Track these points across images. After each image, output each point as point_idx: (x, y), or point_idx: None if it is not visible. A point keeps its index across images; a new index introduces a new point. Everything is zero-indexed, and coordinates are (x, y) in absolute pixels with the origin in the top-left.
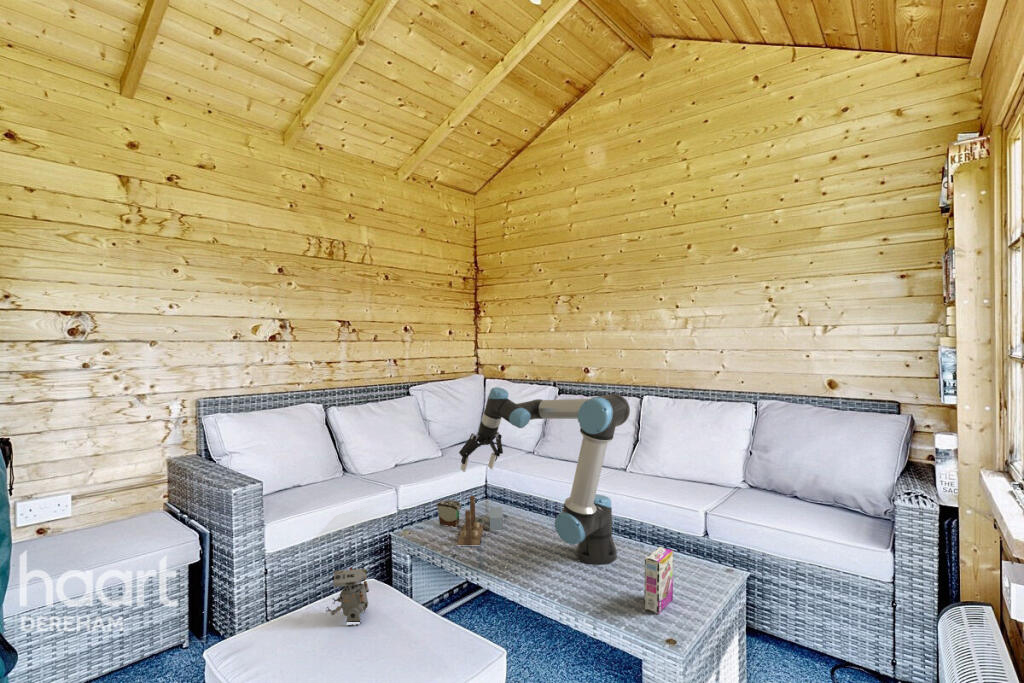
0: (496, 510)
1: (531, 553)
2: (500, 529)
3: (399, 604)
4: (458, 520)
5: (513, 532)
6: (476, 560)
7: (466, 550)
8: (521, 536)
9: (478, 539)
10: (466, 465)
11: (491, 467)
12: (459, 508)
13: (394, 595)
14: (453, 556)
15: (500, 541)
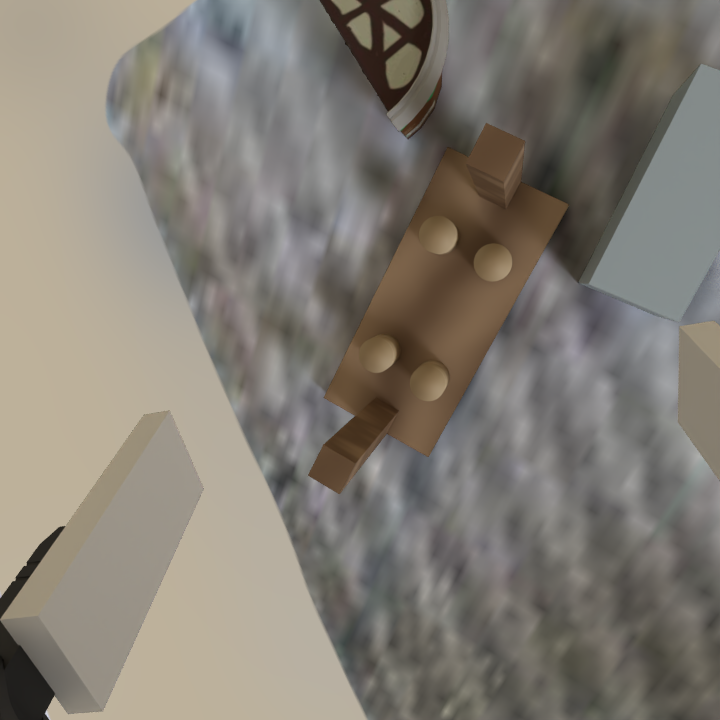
0: (715, 155)
1: (637, 671)
2: (643, 310)
3: None
4: (425, 109)
5: None
6: (356, 581)
7: None
8: None
9: (444, 404)
10: (159, 571)
11: (693, 438)
12: (412, 110)
13: None
14: (278, 485)
15: (562, 451)
